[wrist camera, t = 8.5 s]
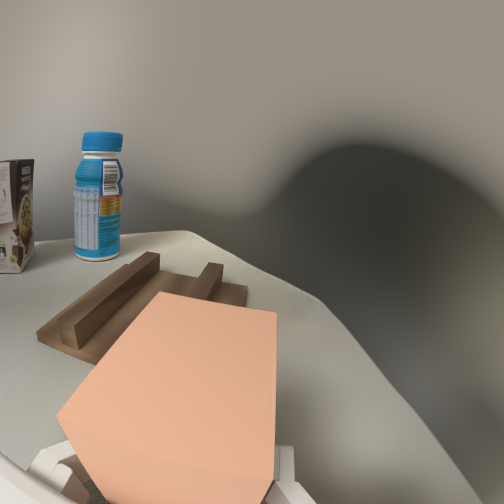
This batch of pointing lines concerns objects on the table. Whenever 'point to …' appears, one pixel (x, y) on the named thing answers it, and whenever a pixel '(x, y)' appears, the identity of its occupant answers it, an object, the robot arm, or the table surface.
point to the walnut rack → (128, 305)
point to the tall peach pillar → (181, 406)
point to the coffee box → (16, 214)
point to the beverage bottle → (98, 197)
